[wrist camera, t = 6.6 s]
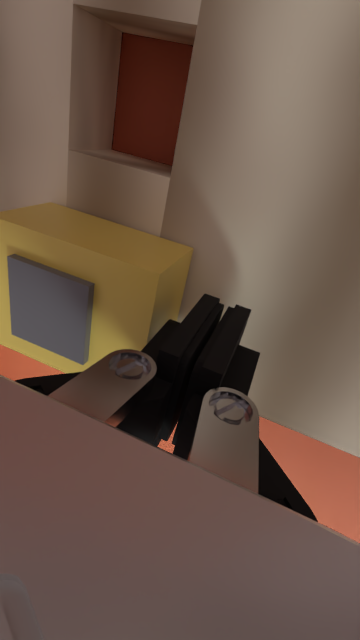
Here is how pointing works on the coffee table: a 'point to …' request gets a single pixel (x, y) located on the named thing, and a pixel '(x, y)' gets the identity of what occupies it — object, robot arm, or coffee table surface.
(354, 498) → the coffee table surface
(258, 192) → the board
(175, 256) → the block
